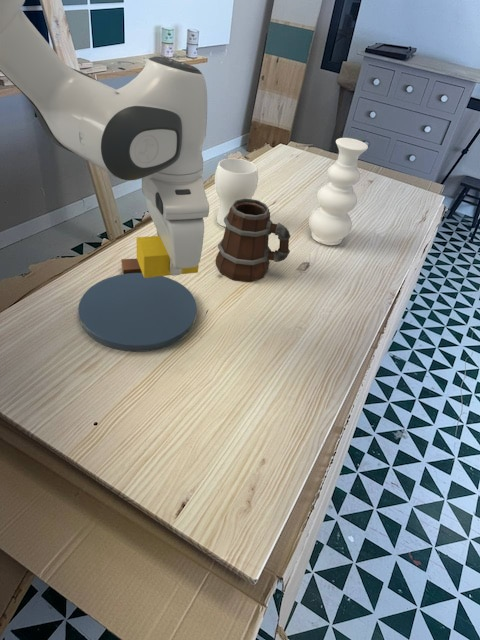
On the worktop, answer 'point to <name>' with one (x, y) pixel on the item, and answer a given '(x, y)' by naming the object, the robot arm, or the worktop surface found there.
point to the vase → (337, 195)
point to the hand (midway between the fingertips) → (169, 261)
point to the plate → (137, 312)
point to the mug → (249, 241)
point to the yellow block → (155, 258)
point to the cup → (234, 183)
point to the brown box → (130, 266)
